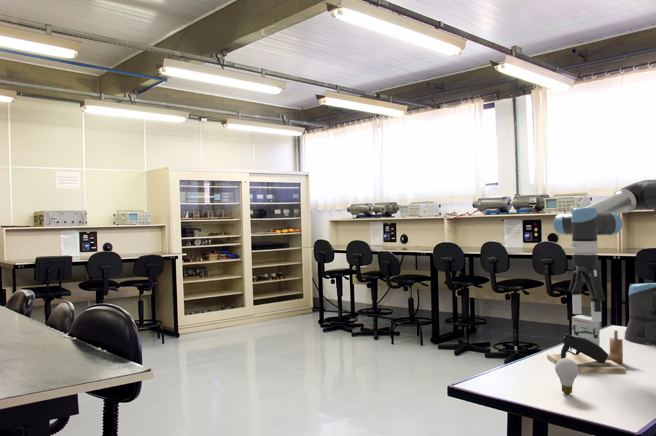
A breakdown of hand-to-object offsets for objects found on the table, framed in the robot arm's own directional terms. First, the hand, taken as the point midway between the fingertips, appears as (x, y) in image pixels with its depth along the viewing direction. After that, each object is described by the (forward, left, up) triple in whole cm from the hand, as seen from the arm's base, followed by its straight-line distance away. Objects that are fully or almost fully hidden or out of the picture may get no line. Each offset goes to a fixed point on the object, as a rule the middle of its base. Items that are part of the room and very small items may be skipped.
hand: (586, 317), depth 166 cm
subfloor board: (0, -1, -16) cm, 16 cm away
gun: (+1, 0, -15) cm, 15 cm away
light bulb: (+18, +28, -16) cm, 37 cm away
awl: (-12, -4, -16) cm, 20 cm away
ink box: (-11, -24, -16) cm, 31 cm away
